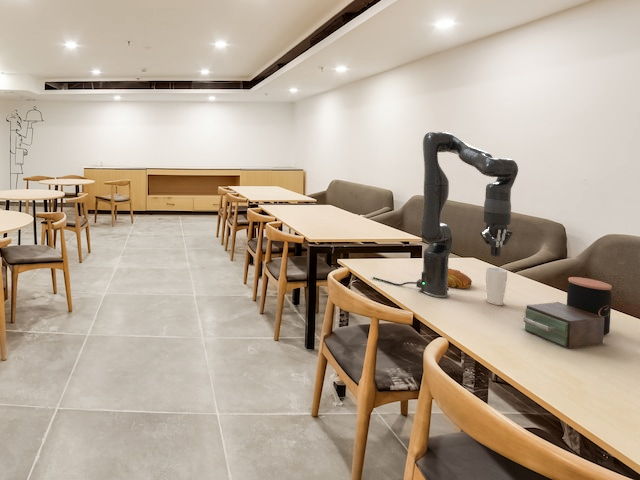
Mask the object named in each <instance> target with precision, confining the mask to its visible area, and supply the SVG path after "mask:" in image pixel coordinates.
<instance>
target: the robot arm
mask: <svg viewBox="0 0 640 480" xmlns="http://www.w3.org/2000/svg"><path fill="white" fill-rule="evenodd" d="M439 153H451V154H455V155H457V157H458V159H459V160H460V161H461V162H462V163H465V164H467V165H469V166H471V167H473V168H475V169H476V170H477V171H478V172H479V173H480V174H482V175H483V176H486V177H489V178H496V179H495V181H494V182H489V183H488V184H487V185H486V186H485V194H484V195H485V198H484V202H483V222H484V223H485V230H484V231H480V232H479V235H480V236H481V238H482V240H483V241H484V243H485V244H486V245H488V246H490V255H491V256H492V257H495V258H497V257H501V253H502V252H501V251H502V247H503V246H506V245H507V243H508V242H509V241H510V239H511V238H512V236H513V234H514V232H513V231H510V230H508V229H509V228H508V226H510V225H511V223H512V221H511V220H512V202H511V201H512V199H511V197H512V188H513V186H514V183H515V181H516V179H517V177H518V173H519V166H518V163H517V162H516V161H515V160H514V159H512V158H495V157H493V155H492V154H490V153H489V152H487V151H485V150H482V149H479V148H477V147H474V146H472V145H470V144H469V143H466V142H464V141H463V140H461V139H460V138H459V137H457V136H455V135H454V134H453V133H450V132H446V131H444V132H443V131H438V132H437V131H433V132H427V133H425V135H424V136H423V139H422V154H423V155H422V156H423V167H424V168H423V169H424V170H423V172H424V173H423V205H422V207H423V209H422V216H421V218H422V219H421V223H420V236H421V239H422V240H423V241H424V242H425V243H427V244H428V246H427V247H425V249H424V250H423V260H422V261H423V264H422V271H421V278H419V279H417V280H416V281H406V282H405V281H404V282H402V283H395V282H392V281H388V280H385V279H381V278H378V277H375V276H373V277H372V279H374V280H378V281H381V282H384V283H387V284H390V285H393V286H399V287H400V286H401V287H402V286H404V285H410V284H411V285H413V284H414V285H416V288H419V289H420V293H423V294H425V295H427V296H431V297H435V298H448V292H449V291H450V288H449V286H448V268H449V257H450V254H451V252H452V246H453V231H452V229H451V227H450V226H449V225H448V224H447V223H444V222H441V214H442V212H443V209H444V207H445V206H446V203H447V201H448V198H449V195H450V181H449V178H448V176H447V175H446V173H445V171H444V170H443V168H442V167H441V165H440V162H439V156H438V155H439Z"/></svg>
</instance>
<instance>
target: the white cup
mask: <svg viewBox="0 0 640 480" xmlns="http://www.w3.org/2000/svg"><path fill="white" fill-rule="evenodd" d="M507 281H508V271H507V270H506V269H503V268H499V267H493V266H487V267H486V268H485V285H486V286H485V287H486V301H487V303H489V304H491V305H495V306H503V305H504V302H505V301H504V300H505V293H506V288H507Z"/></svg>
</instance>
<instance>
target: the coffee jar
mask: <svg viewBox="0 0 640 480" xmlns="http://www.w3.org/2000/svg"><path fill="white" fill-rule="evenodd" d="M567 281H568V284H567V289H566V291H567V292H566V293H567V294H566V305H569V306H572V307H575V308H578V309H581V310H584V311H587V312H590V313H593V314H596V315H599V316H602V317H604V335H603V336H606V335H608V334H610V331H611V315H612V314H611V313H612V312H611V310H612V292H611V290H612V288H613V286H612V285H611V284H609V283H607V282H605V281H604V282H603V281H601V280H597V279H592V278H587V277H580V276H579V277H578V276H570V277H568V278H567Z"/></svg>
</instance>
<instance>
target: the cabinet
mask: <svg viewBox="0 0 640 480" xmlns="http://www.w3.org/2000/svg"><path fill="white" fill-rule="evenodd" d="M525 307H526V308H529V309H531V310H535V311H538V312H541V313H544V314H546V315H549V316H552V317H554V318H557V319H560V320H563V321H565V322H568V337H567V345H566V346H564V345H562V344H559V343H557V342H555V341H552V340H550V339H547V338H545V337H543V336H540V335H538V334H535V333H533V332H531V331H528V330H526V329H525V328H524V331H526V332H528V333H531V334H532V335H535V336H538V337H540V338H542V339H545V340H546V341H550V342H552V343H555V344H556V345H559V346H561V347H564V348H566V349H568V350H572V349H578V348H579V349H580V348H585V347H586V348H587V347H595V346H601V345H604V336H605V335H604V317H602V316H599V315H596V314H593V313H590V312H587V311H584V310H581V309H578V308H575V307H572V306H569V305H567V303H562V302H559V301H555V302H546V303H536V304H526V306H525ZM526 308H525V309H526Z"/></svg>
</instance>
